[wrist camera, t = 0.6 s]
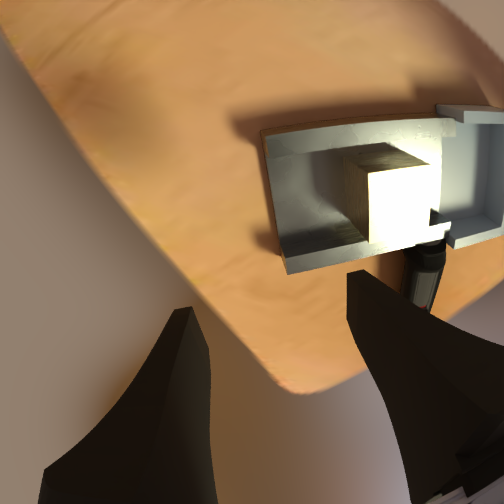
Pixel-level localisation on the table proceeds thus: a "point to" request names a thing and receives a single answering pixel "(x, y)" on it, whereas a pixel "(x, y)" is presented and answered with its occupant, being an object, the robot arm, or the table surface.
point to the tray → (473, 174)
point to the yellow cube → (387, 194)
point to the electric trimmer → (423, 272)
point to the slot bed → (343, 183)
